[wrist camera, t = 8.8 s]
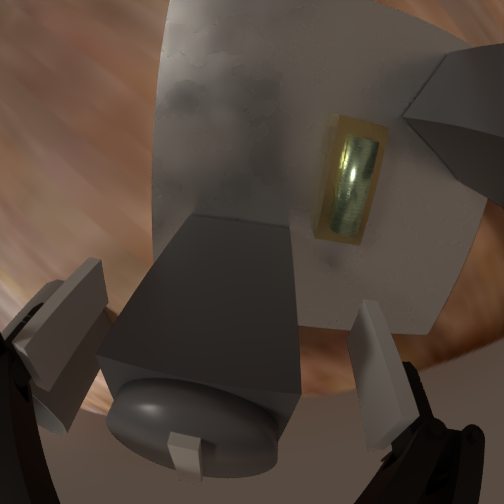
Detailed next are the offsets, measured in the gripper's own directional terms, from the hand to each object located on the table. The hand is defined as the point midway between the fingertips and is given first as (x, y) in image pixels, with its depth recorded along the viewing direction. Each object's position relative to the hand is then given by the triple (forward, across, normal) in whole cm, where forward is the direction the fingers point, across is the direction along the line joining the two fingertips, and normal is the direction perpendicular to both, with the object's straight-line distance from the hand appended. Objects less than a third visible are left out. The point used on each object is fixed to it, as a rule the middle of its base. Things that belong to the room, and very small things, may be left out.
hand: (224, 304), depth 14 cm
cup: (+5, -14, -9) cm, 17 cm away
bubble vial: (+4, +5, +6) cm, 9 cm away
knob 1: (+3, 0, 0) cm, 3 cm away
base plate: (+5, +5, +6) cm, 9 cm away
